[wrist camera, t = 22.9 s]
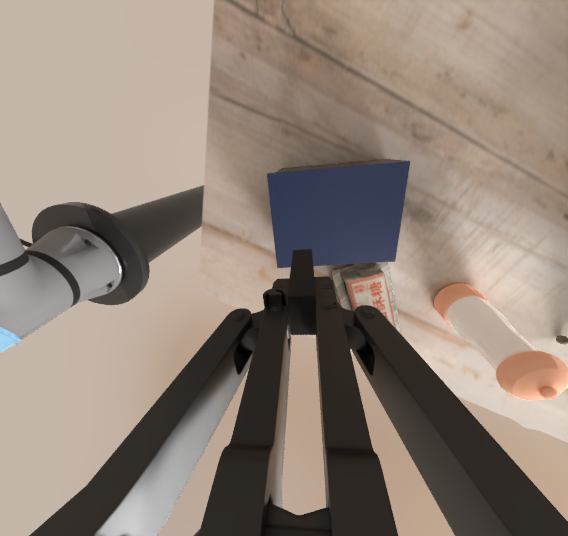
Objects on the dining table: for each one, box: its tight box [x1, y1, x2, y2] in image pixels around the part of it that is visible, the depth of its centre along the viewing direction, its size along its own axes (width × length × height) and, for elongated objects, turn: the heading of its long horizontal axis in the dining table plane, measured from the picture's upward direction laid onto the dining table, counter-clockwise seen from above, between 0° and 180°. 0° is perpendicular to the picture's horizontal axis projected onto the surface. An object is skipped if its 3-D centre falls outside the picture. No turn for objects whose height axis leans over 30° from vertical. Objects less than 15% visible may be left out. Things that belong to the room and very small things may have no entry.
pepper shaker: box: [434, 283, 568, 401], centre depth 34 cm, size 7×7×19 cm
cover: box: [267, 161, 410, 268], centre depth 29 cm, size 16×13×1 cm
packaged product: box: [332, 262, 401, 333], centre depth 42 cm, size 18×5×10 cm
